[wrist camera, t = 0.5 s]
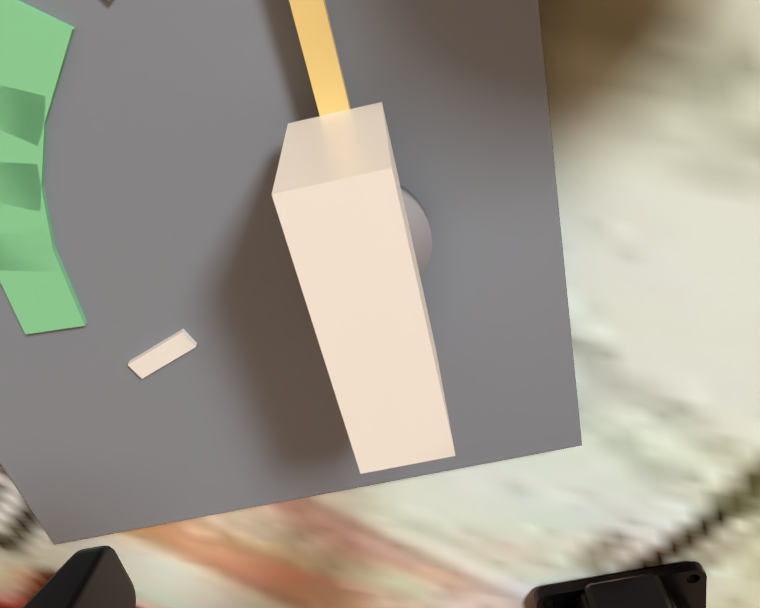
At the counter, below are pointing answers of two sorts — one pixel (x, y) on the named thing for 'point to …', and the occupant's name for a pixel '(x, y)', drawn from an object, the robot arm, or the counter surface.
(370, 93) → the dial board
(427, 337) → the peg knob
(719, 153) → the counter surface
